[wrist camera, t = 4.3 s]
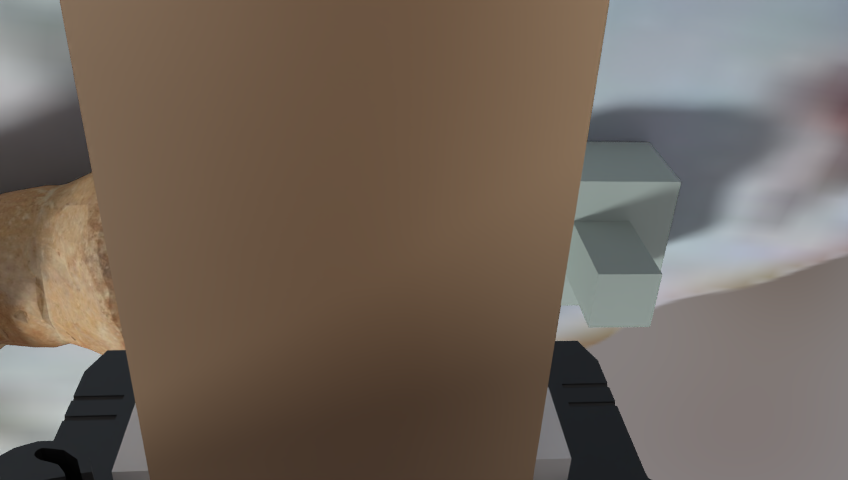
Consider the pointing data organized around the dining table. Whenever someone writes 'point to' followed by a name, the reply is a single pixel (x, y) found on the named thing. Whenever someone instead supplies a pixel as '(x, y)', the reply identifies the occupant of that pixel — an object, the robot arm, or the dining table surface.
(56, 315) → the pipe
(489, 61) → the rod
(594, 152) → the block
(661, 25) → the dining table surface
